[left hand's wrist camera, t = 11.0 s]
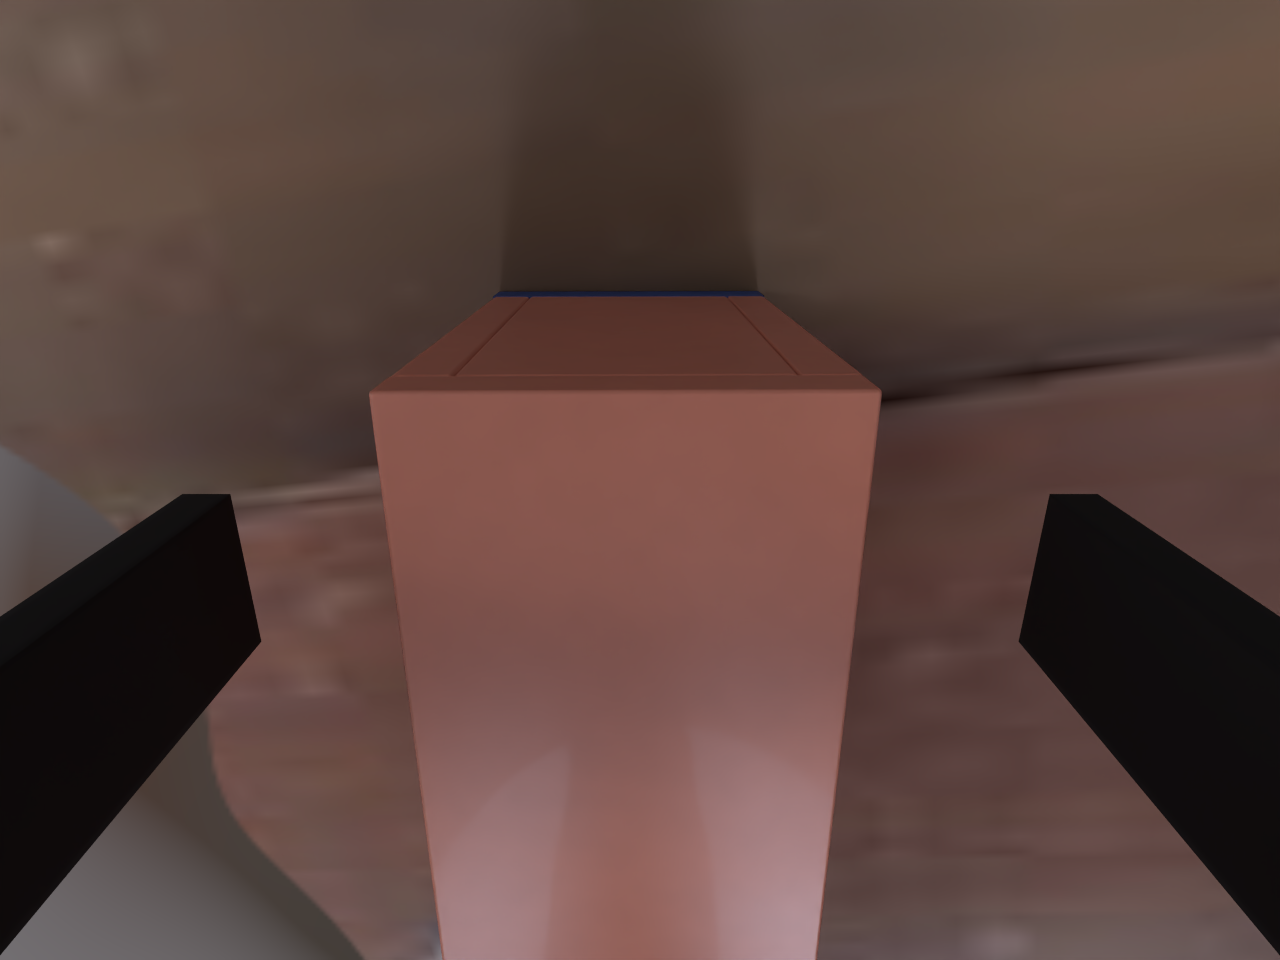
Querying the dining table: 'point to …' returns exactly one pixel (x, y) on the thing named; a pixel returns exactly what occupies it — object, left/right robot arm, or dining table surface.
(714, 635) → the cabinet
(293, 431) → the dining table surface
